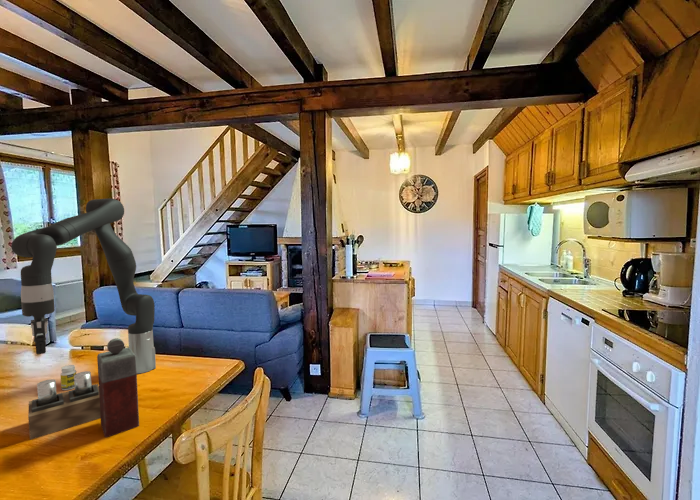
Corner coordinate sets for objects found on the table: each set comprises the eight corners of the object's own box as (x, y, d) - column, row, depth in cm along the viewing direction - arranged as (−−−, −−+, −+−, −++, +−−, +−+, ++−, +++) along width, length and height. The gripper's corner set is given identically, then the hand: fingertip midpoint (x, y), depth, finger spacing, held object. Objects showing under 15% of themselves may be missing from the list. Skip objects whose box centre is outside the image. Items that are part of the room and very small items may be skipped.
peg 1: (56, 398, 113) (55, 378, 112) (57, 403, 109) (55, 382, 109) (38, 402, 110) (37, 382, 109) (38, 408, 106) (37, 387, 106)
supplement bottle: (68, 391, 132) (66, 369, 132) (58, 390, 133) (56, 368, 133) (80, 385, 137) (78, 364, 136) (70, 384, 138) (69, 363, 137)
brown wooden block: (98, 403, 124) (97, 381, 123) (103, 416, 115) (102, 393, 114) (30, 422, 112) (28, 398, 111) (29, 439, 103) (28, 413, 102)
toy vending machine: (132, 411, 118) (128, 331, 116) (139, 426, 110) (135, 339, 107) (100, 421, 112) (95, 337, 110) (105, 437, 104) (99, 346, 101)
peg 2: (91, 389, 119) (89, 370, 118) (92, 394, 115) (91, 374, 115) (74, 393, 116) (73, 373, 115) (75, 398, 112) (74, 378, 112)
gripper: (54, 300, 104) (57, 353, 106) (53, 293, 115) (56, 341, 116) (19, 304, 99) (23, 359, 101) (22, 296, 110) (25, 346, 111)
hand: (41, 349), depth 108 cm, fingers open, 8 cm apart
